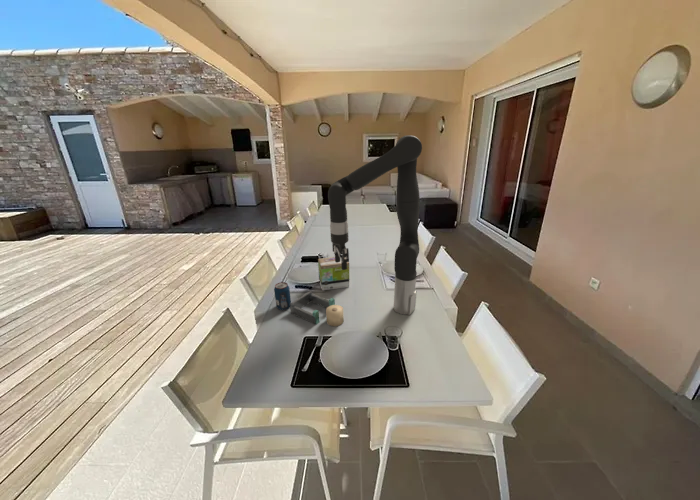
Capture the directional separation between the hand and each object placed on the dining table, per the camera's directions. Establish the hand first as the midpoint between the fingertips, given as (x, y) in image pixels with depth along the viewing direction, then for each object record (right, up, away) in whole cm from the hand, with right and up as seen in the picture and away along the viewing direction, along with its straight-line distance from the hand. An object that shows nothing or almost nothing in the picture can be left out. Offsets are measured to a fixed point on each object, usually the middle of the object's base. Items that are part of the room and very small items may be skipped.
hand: (340, 265), depth 127 cm
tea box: (-5, -12, +29) cm, 32 cm away
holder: (-13, -22, +6) cm, 26 cm away
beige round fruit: (-3, -24, -1) cm, 25 cm away
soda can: (-27, -21, +10) cm, 36 cm away
